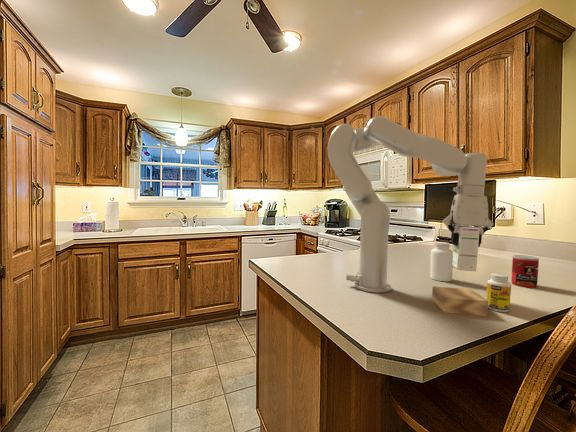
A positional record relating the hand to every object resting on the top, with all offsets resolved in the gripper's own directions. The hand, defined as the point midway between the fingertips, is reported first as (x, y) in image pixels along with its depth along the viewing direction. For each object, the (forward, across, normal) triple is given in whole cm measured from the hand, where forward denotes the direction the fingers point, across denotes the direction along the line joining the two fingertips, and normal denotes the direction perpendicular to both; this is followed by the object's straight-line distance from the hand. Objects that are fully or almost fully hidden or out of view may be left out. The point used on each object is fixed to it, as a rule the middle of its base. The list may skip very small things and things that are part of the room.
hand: (465, 244), depth 94 cm
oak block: (+18, -7, -12) cm, 22 cm away
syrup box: (+8, 0, 0) cm, 8 cm away
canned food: (+16, +30, +17) cm, 38 cm away
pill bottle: (+17, +1, +20) cm, 26 cm away
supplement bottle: (+17, +4, -12) cm, 21 cm away
